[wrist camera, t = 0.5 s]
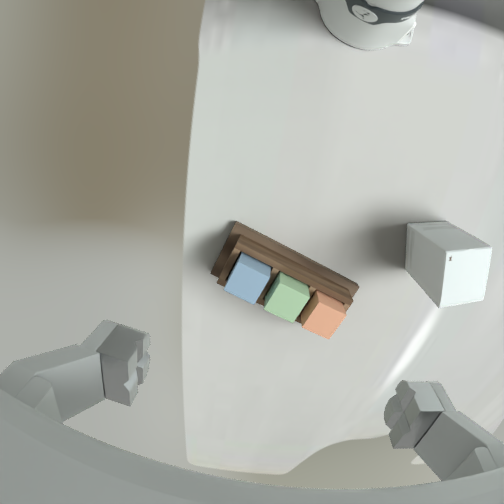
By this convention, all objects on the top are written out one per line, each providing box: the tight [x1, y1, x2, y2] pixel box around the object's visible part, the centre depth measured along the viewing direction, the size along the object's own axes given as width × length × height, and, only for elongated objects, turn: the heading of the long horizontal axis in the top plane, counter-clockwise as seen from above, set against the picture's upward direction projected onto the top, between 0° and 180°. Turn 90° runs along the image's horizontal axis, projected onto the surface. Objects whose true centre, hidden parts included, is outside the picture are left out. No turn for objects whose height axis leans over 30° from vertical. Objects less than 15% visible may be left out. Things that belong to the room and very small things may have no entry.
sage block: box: [264, 271, 310, 323], centre depth 49 cm, size 5×5×5 cm
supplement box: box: [405, 221, 492, 308], centre depth 44 cm, size 9×9×15 cm
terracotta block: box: [301, 289, 346, 339], centre depth 49 cm, size 5×5×5 cm
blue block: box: [224, 252, 271, 305], centre depth 48 cm, size 5×5×5 cm
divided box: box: [210, 221, 359, 324], centre depth 52 cm, size 10×24×6 cm, turn 63°
